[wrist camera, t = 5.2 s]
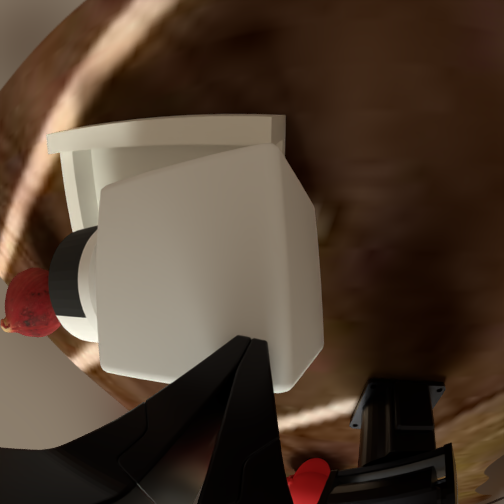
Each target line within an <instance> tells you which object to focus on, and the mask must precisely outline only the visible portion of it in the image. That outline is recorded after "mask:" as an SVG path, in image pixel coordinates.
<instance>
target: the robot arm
mask: <svg viewBox="0 0 504 504" xmlns="http://www.w3.org/2000/svg"><path fill="white" fill-rule="evenodd" d="M374 384H375V385H374ZM444 391H445V384H444V383H443V382H422V381H404V380H390V379H378V378H373V379H370V380H368V382H367V384H366V386H365V389H364V391H363V393H362V396H361V398H360V400H359V403H358V405H357V407H356V409H355V411H354V414H353V416H352V418H351V420H350V427H351V428H356V429H361V433H360V447H359V459H358V468H352V469H345V470H339V469H337V470H331V472H330V474H329V477H328V479H327V481H326V484H325V486H324V489H323V491H322V493H321V496H320V498H319V500H318V503H317V504H458V487H457V474H456V464H455V459H454V453H453V448H452V443H448V444H445V445H444V446H443V447H440V448H437V449H436V442H435V432H434V418H433V411H432V409H433V408H434V406H435V405H436V403H437V402H438V400H439V399H440V397H441V396H442V394H443V393H444ZM279 438H280V437H279V429H278V421H277V413H276V405H275V397H274V389H273V381H272V373H271V366H270V358H269V350H268V343H267V341H265V340H261V339H257V338H253V339H251V338H250V337H247V336H242V335H237V336H235V337H234V338H232V339H231V340H230V341H228V342H227V343H226V344H224V345H223V346H222V347H220V348H219V349H218V350H216V351H215V352H214V353H212V354H211V355H210V356H208V357H207V358H206V359H204V360H203V361H201V362H200V363H199V364H197V365H196V366H195V367H193V368H192V369H190V370H189V371H188V372H186V373H185V374H183V375H182V376H181V377H179V378H178V379H176V380H175V381H173V382H172V383H171V384H169V385H168V386H166V387H165V388H163V389H162V390H161V391H159V392H158V393H156V394H155V395H153V396H152V397H150V398H149V399H147V400H146V403H145V402H143V403H141V404H140V405H138V406H137V407H135V408H134V409H132V410H131V411H129V412H128V413H126V414H125V415H123V416H121V417H119V418H118V419H116V420H114V421H112V422H110V423H108V424H106V425H104V426H103V427H101V428H99V429H96V430H94V431H92V432H90V433H88V434H86V435H84V436H82V437H80V438H77V439H75V440H73V441H71V442H69V443H66V444H64V445H61V446H59V447H55V448H51V449H45V450H27V449H12V448H1V447H0V504H193V502H194V500H195V499H196V497H197V495H198V493H199V491H200V489H201V486H202V485H203V486H202V490H201V493H200V496H199V499H198V503H197V504H294V503H293V499H292V496H291V493H290V490H289V486H288V482H287V478H286V474H285V470H284V464H283V458H282V452H281V444H280V440H279ZM443 476H446V478H444V479H440V480H438V479H437V478H440V477H443Z"/></svg>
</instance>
